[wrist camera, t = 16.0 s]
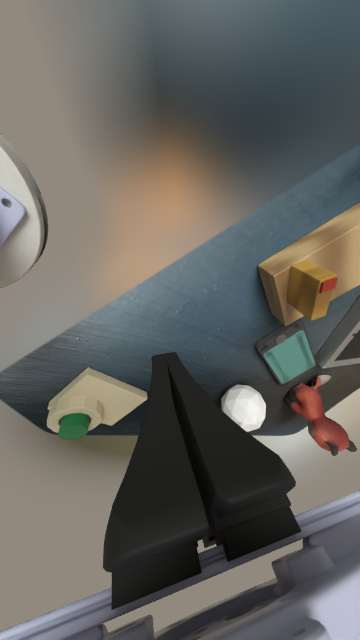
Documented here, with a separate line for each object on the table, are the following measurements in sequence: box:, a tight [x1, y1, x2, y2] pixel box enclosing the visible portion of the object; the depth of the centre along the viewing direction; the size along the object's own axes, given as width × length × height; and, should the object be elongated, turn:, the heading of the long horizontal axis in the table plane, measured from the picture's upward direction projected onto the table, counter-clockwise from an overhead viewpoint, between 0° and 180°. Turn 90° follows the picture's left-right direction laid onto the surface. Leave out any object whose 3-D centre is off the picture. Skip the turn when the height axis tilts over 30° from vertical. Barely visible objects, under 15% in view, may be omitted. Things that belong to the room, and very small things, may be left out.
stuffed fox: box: [284, 375, 357, 456], centre depth 38 cm, size 8×11×12 cm
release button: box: [58, 413, 89, 439], centre depth 25 cm, size 3×3×2 cm
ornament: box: [221, 385, 266, 432], centre depth 33 cm, size 7×7×8 cm
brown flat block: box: [258, 202, 360, 326], centre depth 22 cm, size 12×8×3 cm, turn 119°
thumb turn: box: [287, 260, 338, 321], centre depth 19 cm, size 4×2×4 cm, turn 15°
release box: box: [47, 367, 148, 433], centre depth 27 cm, size 10×9×3 cm
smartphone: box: [255, 319, 317, 386], centre depth 33 cm, size 7×1×15 cm
